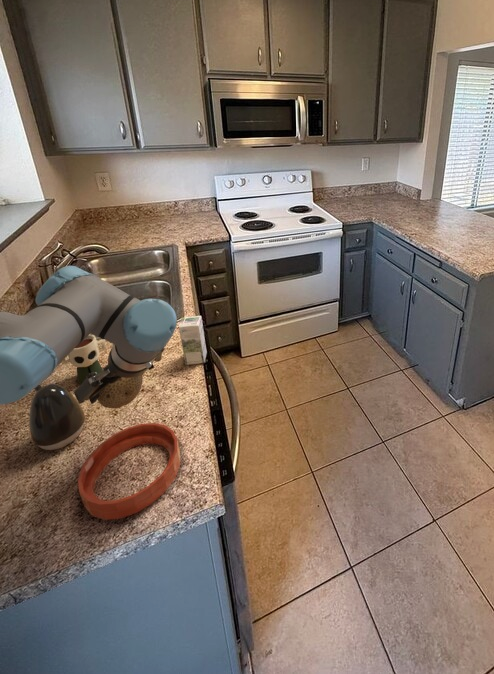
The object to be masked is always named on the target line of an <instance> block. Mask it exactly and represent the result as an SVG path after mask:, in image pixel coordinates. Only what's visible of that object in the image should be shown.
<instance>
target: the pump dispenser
mask: <svg viewBox="0 0 494 674" xmlns="http://www.w3.org/2000/svg"><path fill="white" fill-rule="evenodd" d="M33 390H34V391H35V394H34V395H33V397H32V399H31V402H30V407H29V415H28V419H29V422H28V423H29V425H28V427H29V434H30V438H31V442H32V443H33V444H34V445H36V446H37V447H39V448H41V449H43V450H46V451H54V450H55V451H56V450H58V449H62V448H64V447H66V446H68V445H70V444H71V443H72V442H74V441H75V440H76V439H77V438H78V437H79V436H80V434H81V433H82V431H83V428H84V425H85V420H86V414H85V411H84V409H83V408H82V405H81V404H79V402H78V400H77V398H76V396H75V395H73V394H72V392H71V391H69V390H68V389H67V388H65V387H64V386H62V385H60V384H57V383H48V384H45V385H43V386H42V385H40V384H39V385H38V386H37V387H36V388H34V389H33Z"/></svg>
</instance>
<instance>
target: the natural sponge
mask: <svg viewBox="0 0 494 674" xmlns="http://www.w3.org/2000/svg"><path fill="white" fill-rule="evenodd" d="M116 377H117V376H116ZM143 377H144V376H143V375H142V374H141V375H139V376H136V377H132V378H124V377H122V378H121V379H119V380H118V381H116V382H114V383H112V384H111V383H110V384H109V385H108V386H107V387H105V388H104V389H103V390H102V391H100V392H99V394H100V395H99V397H98V398H97V400H96V401H97V402H98V403H99V404H100V405H101V406H102V407H104V408H108V409H119V408H122V407H124V406H127V405H128V404H130V403H132V402H133V401H134V400H135V399H136V398H137V397H138V395H139V393H141V392H140V391H141V389H142V387H143V382H144V378H143Z"/></svg>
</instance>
